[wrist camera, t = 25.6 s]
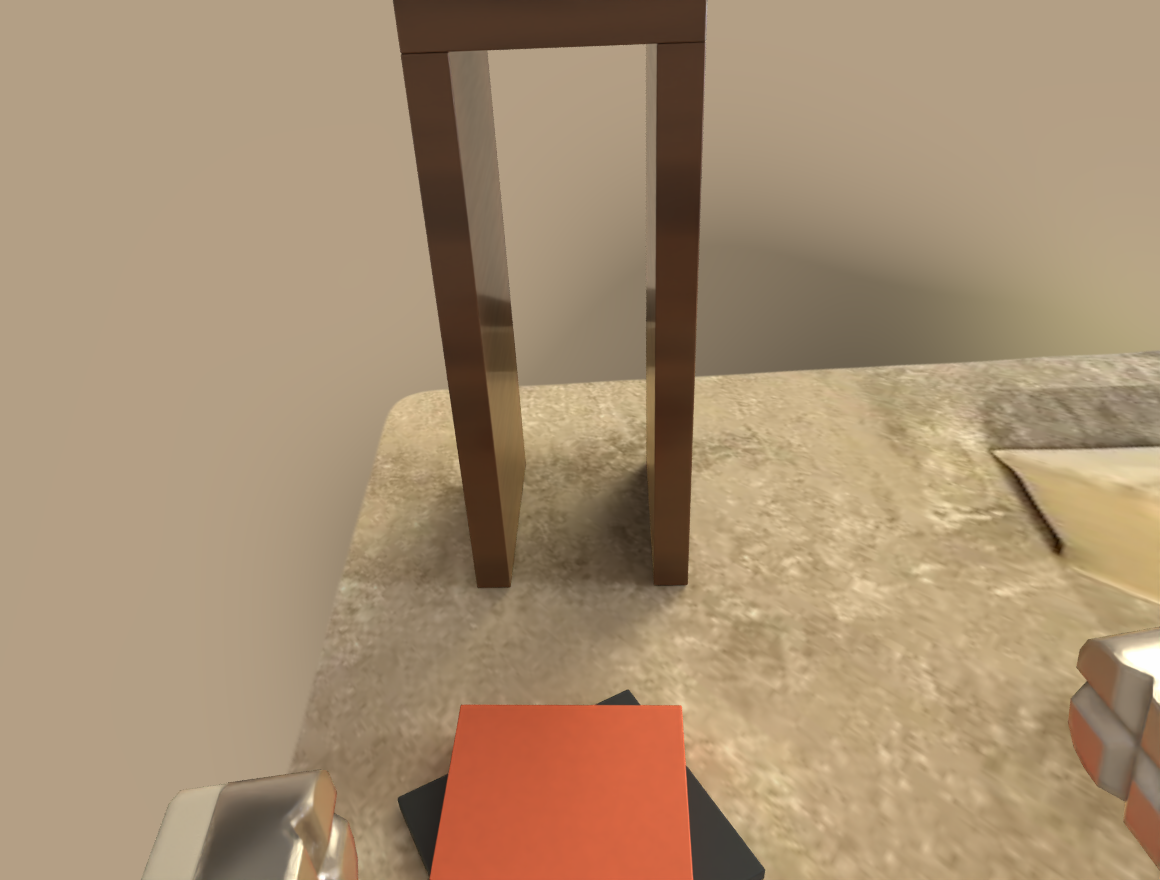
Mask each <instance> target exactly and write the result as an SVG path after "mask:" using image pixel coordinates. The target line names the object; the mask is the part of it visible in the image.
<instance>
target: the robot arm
mask: <svg viewBox="0 0 1160 880" xmlns="http://www.w3.org/2000/svg"><path fill="white" fill-rule="evenodd" d="M1076 668H1077V669H1078V670H1079V671H1080V673H1081V674H1082V675H1083V676H1084V678H1085V679H1086V680H1087V682H1086V683H1085V684H1084V685H1083V686H1082V687H1081V688H1080V689H1079V690H1078V691H1077V692H1076V693H1075V695H1074V696H1073V697H1072V698H1071V701H1070V709H1069V718H1068V724H1069V729H1070V733H1071V737H1072V742H1073V746H1074V749H1075V751H1076V753H1077V755H1078V757H1079V759H1080V761H1081V763H1082V765H1083V767H1084V768H1085V770H1086V771H1087V773H1088V774H1089V775H1090V777H1091V778H1092V780H1093V781H1094V782H1095V784H1096V785H1097V786H1098V787H1099V788H1101V789H1103V790H1105V791H1107V792H1108V793H1110V794H1112V795H1114V796H1116V797H1117V798H1119V799H1121V800H1123V801H1125V805H1124V821H1123V822H1124V823H1125V825H1126V826H1127V827H1128V829H1129V830H1130V831H1131V833H1132V834H1133V835H1134V837H1135V838H1136V839H1137V841H1138V842H1139V843H1140V845H1141V846H1142V848H1143V849H1144V850H1145V852H1146V853H1147V854H1148V856H1149V857H1150V858H1151V860H1152V861H1153V862H1154V864H1155V865H1156V866H1157V868H1158V869H1159V870H1160V627H1155V628H1149V629H1144V630H1138V631H1133V632H1127V633H1121V634H1116V635H1110V636H1105V637H1099V638H1094V639H1088V640H1087V641H1086V643H1085V644H1084V645H1083V646H1082V648H1081V649H1080V652H1079V657H1078V662H1077V667H1076ZM336 796H337V791H336V788H335V786H334V784H333V781H332V779H331V777H330V774H329V772H328V771H326V770H321V769H320V770H313V771H306V772H299V773H292V774H285V775H278V776H271V777H264V778H257V779H250V780H242V781H236V782H229V783H227V784H221V785H214V786H207V787H200V788H193V789H186V790H180V791H179V792H178V794H177V795H176V796H175V797H174V798H173V799H172V801H171V802H170V803H169V805H168V807H167V810H166V813H165V816H164V818H163V821H162V824H161V826H160V829H159V832H158V835H157V837H156V840H155V843H154V846H153V849H152V851H151V854H150V857H149V859H148V862H147V865H146V868H145V870H144V873H143V876H142V878H141V880H358V857H357V852H356V847H355V842H354V837H353V834H352V831H351V828H350V826H349V823H348V821H347V820H345V819H344V818H342V817H340V816H339V815H337V814H335V813H334V809H335V803H336Z"/></svg>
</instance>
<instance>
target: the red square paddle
mask: <svg viewBox="0 0 1160 880" xmlns="http://www.w3.org/2000/svg"><path fill="white" fill-rule="evenodd" d="M429 880H693V870H692V855H691V840H690V824H689V809H688V794H687V778H686V763H685V748H684V733H683V717H682V706H680V705H461V707H460V712H459V718H458V724H457V729H456V735H455V740H454V746H453V751H452V757H451V762H450V768H449V774H448V779H447V785H446V790H445V796H444V801H443V807H442V812H441V818H440V824H439V829H438V835H437V840H436V846H435V851H434V857H433V862H432V868H431V874H430V879H429Z"/></svg>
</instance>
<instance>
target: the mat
mask: <svg viewBox="0 0 1160 880" xmlns="http://www.w3.org/2000/svg"><path fill="white" fill-rule="evenodd" d="M596 705H640V704H639V703H638V701H637V700H636V699H635V697H634V696H633V695H632V693H631V692H630V691H629V690H626V691H623V692H621V693H619V694H617V695H615V696H613V697H611V698H609V699H606V700H604V701H602V702H600V703H598V704H596ZM686 778H687V794H688V809H689V824H690V840H691V855H692V870H693V880H762V879H763V878H764V874H765V869H764V867H763V866H762V865H761V863H760V862H759V861H758V859H757V858H756V857H755V856H754V854H753V853H752V852H751V850H750V849H749V848H748V846H747V845H746V844H745V842H744V841H743V840H742V838H741V837H740V836H739V834H738V833H737V832H736V830H735V829H734V828H733V827H732V825H731V824H730V823H729V821H728V820H727V819H726V817H725V816H724V815H723V813H722V812H721V811H720V809H719V808H718V807H717V805H716V804H715V803H714V801H713V800H712V799H711V798H710V796H709V795H708V794H707V792H706V791H705V790H704V788H703V787H702V786H701V784H700V783H699V782H698V780H697V779H696V778H695V776H694V775H693V774H692V772H691V771H690V770H689V769H688V767H687V766H686ZM447 779H448V774H447V775H445V776H443V777H441V778H439V779H436V780H434V781H432V782H430V783H428V784H426V785H424V786H422V787H419V788H417V789H415V790H413V791H411V792H409V793H407V794H405V795H402V796H400V797H398V803H399V807H400V810H401V812H402V814H403V817H404V819H405V821H406V824H407V826H408V828H409V831H410V833H411V835H412V838H413V840H414V842H415V844H416V847H417V849H418V851H419V854H420V856H421V858H422V861H423V863H424V865H425V868H426V870H427V872H428V875H429V877H430V874H431V868H432V862H433V857H434V851H435V846H436V840H437V835H438V829H439V824H440V818H441V812H442V807H443V801H444V796H445V790H446V785H447Z"/></svg>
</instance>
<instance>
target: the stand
mask: <svg viewBox="0 0 1160 880" xmlns="http://www.w3.org/2000/svg"><path fill="white" fill-rule="evenodd" d="M707 1H708V0H393V4H394V11H395V18H396V25H397V32H398V39H399V46H400V52H401V53H402V54H401V60H402V67H403V74H404V81H405V88H406V95H407V102H408V109H409V116H410V123H411V130H412V136H413V144H414V150H415V157H416V164H417V171H418V178H419V185H420V192H421V199H422V206H423V213H424V219H425V227H426V234H427V241H428V247H429V254H430V262H431V268H432V275H433V282H434V289H435V296H436V303H437V310H438V317H439V323H440V331H441V338H442V344H443V352H444V359H445V366H446V373H447V380H448V387H449V394H450V400H451V407H452V414H453V421H454V428H455V435H456V442H457V449H458V456H459V463H460V470H461V477H462V484H463V491H464V498H465V505H466V512H467V518H468V525H469V532H470V539H471V546H472V553H473V560H474V567H475V574H476V581H477V587H478V588H487V587H510V586H511V579H512V571H513V563H514V555H515V547H516V539H517V531H518V522H519V514H520V506H521V498H522V490H523V482H524V474H525V466H526V460H525V450H524V439H523V428H522V418H521V407H520V396H519V385H518V375H517V364H516V353H515V343H514V332H513V321H512V310H511V301H510V290H509V279H508V268H507V259H506V258H507V257H506V247H505V235H504V225H503V214H502V203H501V192H500V182H499V171H498V160H497V150H496V140H495V128H494V117H493V107H492V96H491V85H490V76H489V64H488V53H487V50H508V49H532V48H559V47H583V46H609V45H633V44H646V463H647V480H648V496H649V513H650V530H651V546H652V563H653V580H654V585H687V584H688V561H689V532H690V502H691V473H692V443H693V414H694V385H695V355H696V354H695V353H696V326H697V294H698V267H699V236H700V208H701V179H702V177H701V176H702V149H703V120H704V90H705V89H704V88H705V59H706V42H705V41H706V30H707Z"/></svg>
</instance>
